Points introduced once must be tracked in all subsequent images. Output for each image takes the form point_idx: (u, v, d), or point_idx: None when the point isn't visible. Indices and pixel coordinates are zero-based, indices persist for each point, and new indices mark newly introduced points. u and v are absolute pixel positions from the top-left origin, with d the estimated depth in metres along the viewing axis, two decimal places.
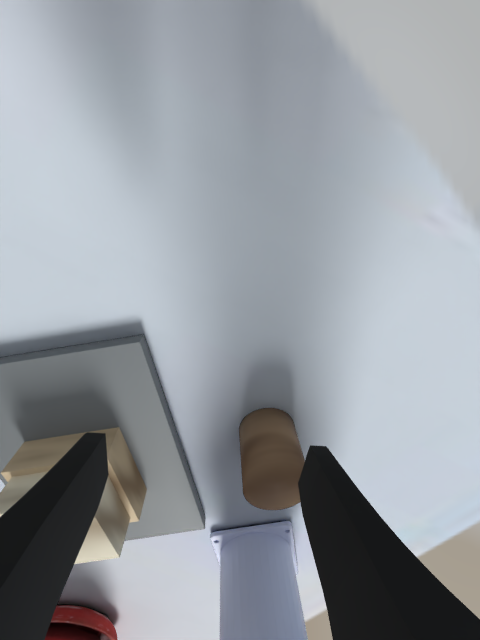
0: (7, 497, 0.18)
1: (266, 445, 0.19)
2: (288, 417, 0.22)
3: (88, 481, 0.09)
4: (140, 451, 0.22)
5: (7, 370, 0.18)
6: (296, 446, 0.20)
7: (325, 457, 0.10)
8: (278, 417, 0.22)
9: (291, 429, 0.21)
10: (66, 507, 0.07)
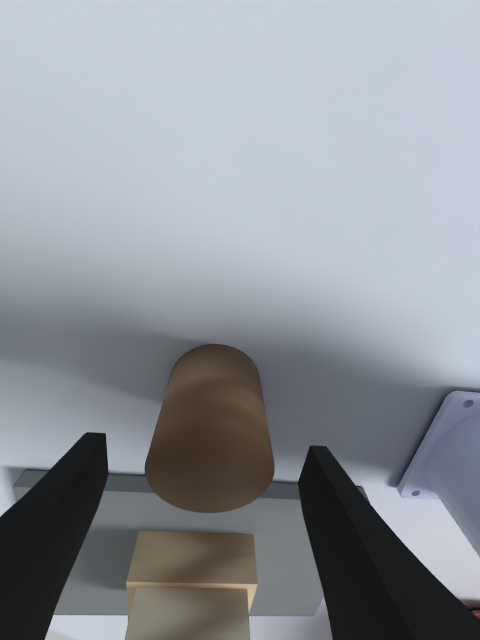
0: None
1: None
2: (190, 354, 0.13)
3: (88, 481, 0.09)
4: (185, 524, 0.17)
5: None
6: (184, 390, 0.11)
7: (325, 457, 0.10)
8: (173, 373, 0.13)
9: (185, 371, 0.12)
10: (66, 507, 0.07)
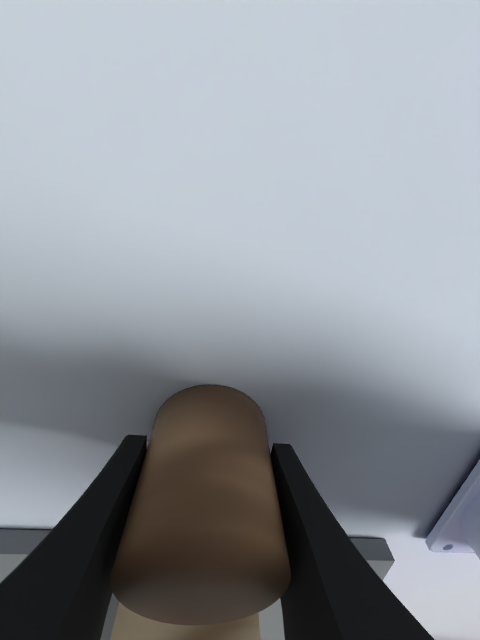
0: None
1: None
2: (179, 398, 0.10)
3: (134, 483, 0.09)
4: None
5: None
6: (168, 461, 0.08)
7: (286, 455, 0.10)
8: (157, 423, 0.10)
9: (170, 426, 0.09)
10: (119, 509, 0.08)
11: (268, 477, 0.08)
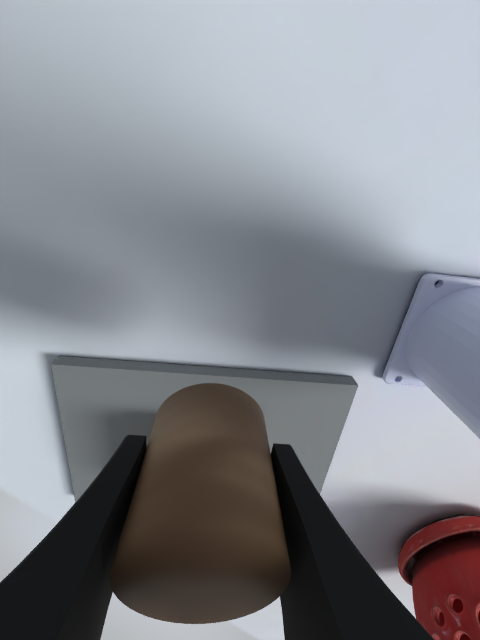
0: None
1: None
2: (178, 396, 0.10)
3: (134, 483, 0.09)
4: None
5: (75, 463, 0.22)
6: (167, 459, 0.08)
7: (286, 455, 0.10)
8: (156, 421, 0.10)
9: (170, 424, 0.09)
10: (119, 509, 0.08)
11: (268, 475, 0.08)
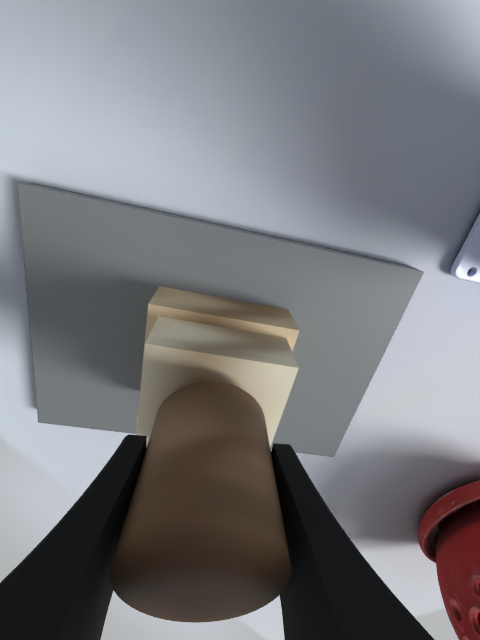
0: None
1: None
2: (179, 395, 0.10)
3: (134, 483, 0.09)
4: (213, 282, 0.15)
5: (41, 352, 0.16)
6: (168, 456, 0.08)
7: (286, 455, 0.10)
8: (157, 420, 0.10)
9: (170, 422, 0.09)
10: (119, 509, 0.08)
11: (268, 472, 0.08)
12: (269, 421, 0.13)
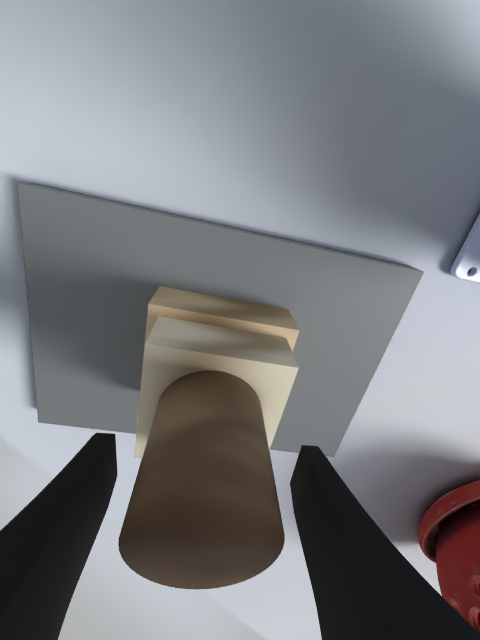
0: None
1: None
2: (180, 383, 0.11)
3: (99, 481, 0.09)
4: (214, 282, 0.15)
5: (41, 352, 0.16)
6: (170, 437, 0.09)
7: (316, 457, 0.10)
8: (159, 406, 0.11)
9: (172, 407, 0.10)
10: (78, 507, 0.07)
11: (264, 452, 0.09)
12: (269, 421, 0.13)
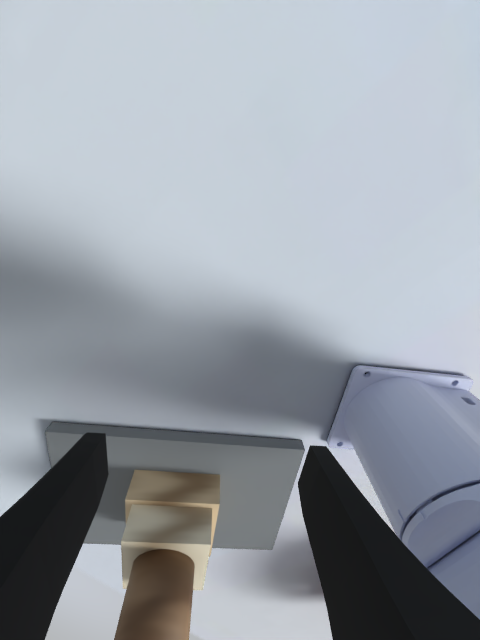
0: None
1: None
2: (142, 559, 0.20)
3: (88, 481, 0.09)
4: (168, 465, 0.24)
5: None
6: (131, 611, 0.17)
7: (325, 457, 0.10)
8: (131, 574, 0.20)
9: (135, 583, 0.19)
10: (66, 507, 0.07)
11: (181, 613, 0.18)
12: (200, 567, 0.21)
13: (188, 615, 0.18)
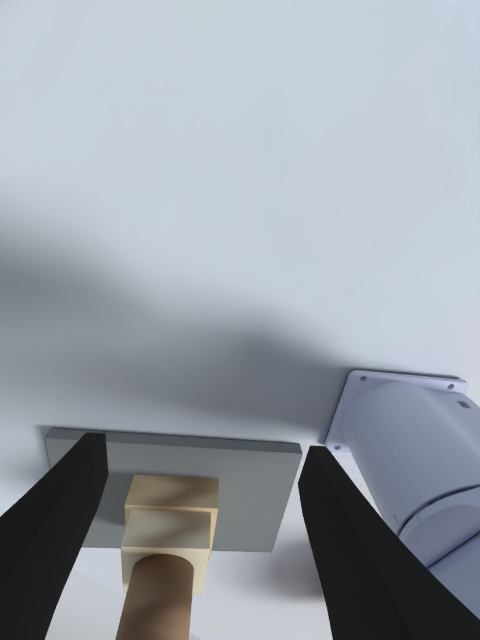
0: None
1: None
2: (141, 564, 0.20)
3: (88, 481, 0.09)
4: (167, 470, 0.24)
5: None
6: (131, 615, 0.18)
7: (325, 457, 0.10)
8: (131, 579, 0.20)
9: (135, 588, 0.19)
10: (66, 507, 0.07)
11: (180, 618, 0.18)
12: (199, 571, 0.21)
13: (187, 619, 0.18)
